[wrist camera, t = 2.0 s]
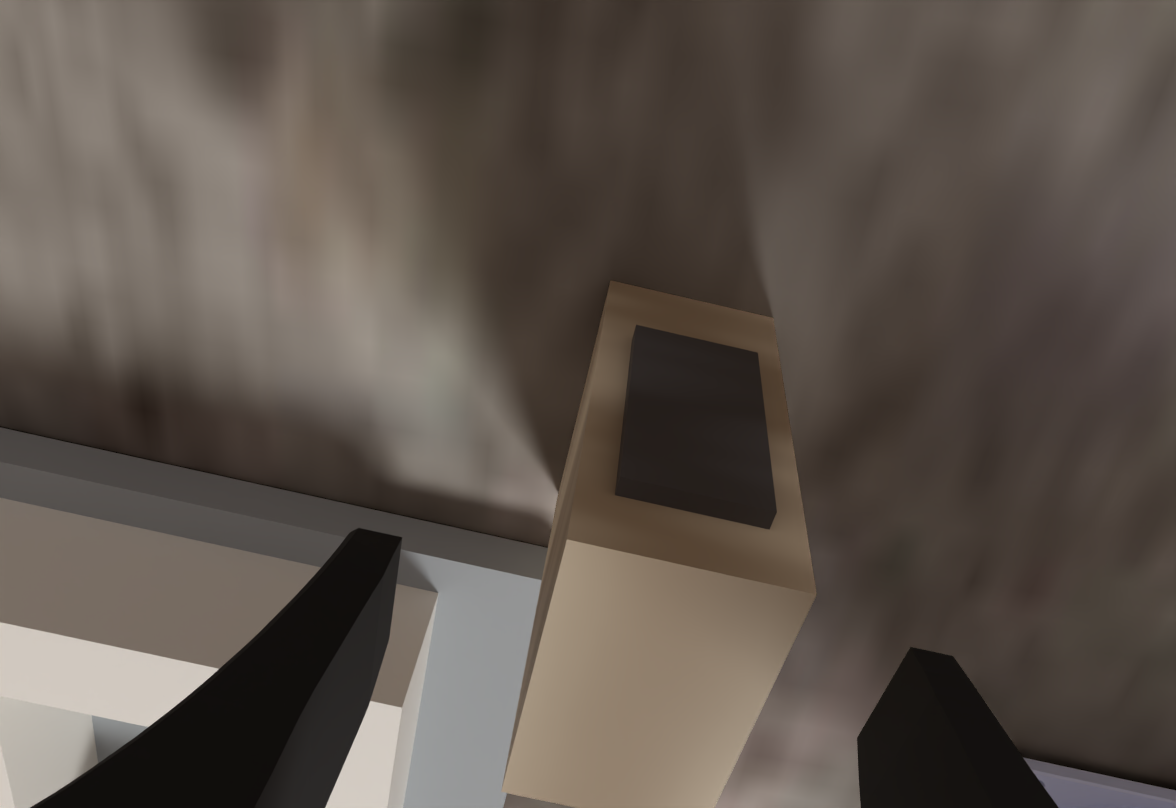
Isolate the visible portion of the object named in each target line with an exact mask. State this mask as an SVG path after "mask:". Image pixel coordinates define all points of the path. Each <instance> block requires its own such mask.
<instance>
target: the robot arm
mask: <svg viewBox="0 0 1176 808" xmlns="http://www.w3.org/2000/svg"><path fill="white" fill-rule="evenodd" d="M401 544H402V537H399V536H394V535H390V534H385V533H381V532H376V531H371V530H367V529H362V528H357V529H355V530H353V531H351V532H350V533H349V534H348V535H347V537H346V538H345V539H344V540H343V542H342V543H341V544H340V546H339V547H338V548H337V549H336V551H335V552H334V553H333V554H332V555H331V557H330V558H329V559H328V560H327V561H326V563H325V564H324V565H323V566H322V567H321V568H320V569H319V571H318V572H317V573H316V574H315V575H314V576H313V577H312V578H311V579H310V581H309V582H308V583H307V584H306V585H305V586H304V587H303V588H302V589H301V590H300V591H299V592H298V594H297V595H296V596H295V597H294V598H293V599H292V600H291V601H290V602H289V603H288V604H287V605H286V606H285V607H284V608H283V609H282V610H281V611H280V612H279V613H278V614H277V615H276V616H275V617H274V618H273V619H272V620H271V621H270V622H269V623H268V624H267V625H266V626H265V627H264V628H263V629H262V630H261V631H260V632H259V633H258V634H257V635H256V636H255V637H254V638H253V639H252V640H251V641H250V642H248V643H247V644H246V645H245V646H244V647H243V648H242V649H241V650H240V651H238V652H237V653H236V654H235V655H234V656H233V657H232V658H231V659H230V660H228V661H227V662H226V663H225V664H224V665H223V666H222V667H221V668H220V669H218V670H217V671H216V672H215V673H214V674H213V675H212V676H211V677H210V678H208V679H207V680H206V681H205V682H204V683H203V684H202V685H200V686H199V687H198V688H197V689H196V690H194V691H193V692H192V693H191V694H190V695H188V696H187V697H186V698H185V699H184V700H182V701H181V702H180V703H179V704H177V705H176V706H175V707H174V708H172V709H171V710H170V711H169V712H167V713H166V714H165V715H163V716H162V717H161V718H159V719H158V720H157V721H156V722H154V723H153V724H152V725H150V726H149V727H148V728H147V729H145V730H144V731H143V732H141V733H140V734H139V735H137V736H136V737H135V738H133V739H132V740H130V741H129V742H128V743H126V744H125V745H123V746H122V747H120V748H119V749H118V750H116V751H115V752H113V753H112V754H111V755H109V756H108V757H106V758H105V759H104V760H102V761H101V762H99V763H98V764H97V765H95V766H94V767H92V768H91V769H89V770H88V771H87V772H85V773H84V774H82V775H81V776H79V777H78V778H76V779H75V780H73V781H72V782H70V783H69V784H67V785H66V786H64V787H63V788H61V789H59V790H58V791H56V792H55V793H53V794H52V795H50V796H48V797H47V798H45V799H43V800H42V801H40V802H38V803H37V804H35V805H34V806H32V807H30V808H325V807H326V805H327V802H328V800H329V798H330V795H331V793H332V791H333V788H334V786H335V784H336V781H337V779H338V777H339V775H340V772H341V770H342V768H343V765H344V763H345V761H346V758H347V756H348V754H349V751H350V749H351V747H352V744H353V742H354V740H355V737H356V735H357V733H358V730H359V728H360V725H361V723H362V721H363V718H364V716H365V714H366V711H367V709H368V706H369V703H370V700H371V697H372V694H373V690H374V687H375V684H376V681H377V678H378V674H379V671H380V668H381V664H382V661H383V658H384V655H385V651H386V648H387V645H388V641H389V637H390V630H391V622H392V614H393V606H394V599H395V591H396V583H397V575H398V567H399V560H400V552H401ZM857 743H858V768H859V786H860V801H861V808H1176V790H1172V789H1167V788H1162V787H1158V786H1153V785H1148V784H1144V783H1139V782H1134V781H1130V780H1125V779H1121V778H1116V777H1111V776H1107V775H1102V774H1097V773H1093V772H1088V771H1084V770H1079V769H1074V768H1070V767H1065V766H1060V765H1056V764H1051V763H1047V762H1042V761H1037V760H1033V759H1028V758H1023V757H1022V755H1021V754H1020V753H1019V751H1018V750H1017V748H1016V747H1015V745H1014V744H1013V743H1012V741H1011V740H1010V738H1009V737H1008V735H1007V734H1006V732H1005V731H1004V729H1003V728H1002V726H1001V725H1000V724H999V722H998V721H997V719H996V718H995V716H994V715H993V713H992V712H991V710H990V709H989V707H988V706H987V704H986V703H985V702H984V700H983V699H982V697H981V696H980V694H979V693H978V691H977V690H976V688H975V687H974V685H973V684H972V683H971V681H970V680H969V678H968V677H967V675H966V674H965V672H964V671H963V670H962V668H961V667H960V665H959V664H958V663H957V661H956V660H955V658H954V657H953V656H950V655H945V654H940V653H936V652H931V651H926V650H922V649H917V648H913V647H910V649H909V651H908V652H907V654H906V656H905V658H904V659H903V661H902V663H901V664H900V666H899V668H898V669H897V671H896V673H895V675H894V676H893V678H892V680H891V681H890V683H889V685H888V686H887V688H886V690H885V692H884V693H883V695H882V697H881V698H880V700H879V702H878V704H877V705H876V707H875V709H874V710H873V712H872V714H871V715H870V717H869V719H868V721H867V722H866V724H865V726H864V727H863V729H862V731H861V732H860V734H859V736H858V738H857Z"/></svg>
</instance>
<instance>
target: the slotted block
mask: <svg viewBox="0 0 1176 808" xmlns="http://www.w3.org/2000/svg"><path fill="white" fill-rule="evenodd" d="M357 528H362V529H367V530H371V531H376V532H381V533H385V534H390V535H394V536H399V537H402V544H401V552H400V560H399V567H398V575H397V583H396V591H395V599H394V606H393V614H392V622H391V630H390V637H389V641H388V645H387V648H386V651H385V655H384V658H383V661H382V664H381V668H380V671H379V674H378V678H377V681H376V684H375V687H374V690H373V694H372V697H371V700H370V703H369V706H368V709H367V711H366V714H365V716H364V718H363V721H362V723H361V725H360V728H359V730H358V733H357V735H356V737H355V740H354V742H353V744H352V747H351V749H350V751H349V754H348V756H347V758H346V761H345V763H344V765H343V768H342V770H341V772H340V775H339V777H338V779H337V781H336V784H335V786H334V788H333V791H332V793H331V795H330V798H329V800H328V802H327V805H326V807H325V808H503V806H504V802H505V798H506V795H507V793H504V792H501V790H502V785H503V780H504V774H505V769H506V764H507V759H508V753H509V748H510V743H511V738H512V733H513V727H514V722H515V717H516V712H517V706H518V701H519V696H520V691H521V686H522V680H523V675H524V670H525V665H526V660H527V654H528V649H529V644H530V639H531V633H532V628H533V623H534V618H535V613H536V607H537V602H538V597H539V592H540V586H541V581H542V576H543V571H544V566H545V560H546V555H547V550H548V548H546V547H541V546H537V545H532V544H527V543H523V542H518V541H514V540H509V539H505V538H500V537H496V536H491V535H487V534H482V533H478V532H473V531H468V530H464V529H459V528H455V527H450V526H446V525H441V524H437V523H432V522H428V521H423V520H418V519H414V518H409V517H405V516H400V515H396V514H391V513H387V512H382V511H378V510H373V509H369V508H364V507H359V506H355V505H350V504H346V503H341V502H337V501H332V500H328V499H323V498H319V497H314V496H309V495H305V494H300V493H296V492H291V491H287V490H282V489H278V488H273V487H269V486H264V485H259V484H255V483H250V482H246V481H241V480H237V479H232V478H228V477H223V476H219V475H214V474H210V473H205V472H200V471H196V470H191V469H187V468H182V467H178V466H173V465H169V464H164V463H160V462H155V461H150V460H146V459H141V458H137V457H132V456H128V455H123V454H119V453H114V452H110V451H105V450H101V449H96V448H91V447H87V446H82V445H78V444H73V443H69V442H64V441H60V440H55V439H51V438H46V437H41V436H37V435H32V434H28V433H23V432H19V431H14V430H10V429H5V428H1V427H0V808H30V807H32V806H34V805H35V804H37V803H38V802H40V801H42V800H43V799H45V798H47V797H48V796H50V795H52V794H53V793H55V792H56V791H58V790H59V789H61V788H63V787H64V786H66V785H67V784H69V783H70V782H72V781H73V780H75V779H76V778H78V777H79V776H81V775H82V774H84V773H85V772H87V771H88V770H89V769H91V768H92V767H94V766H95V765H97V764H98V763H99V762H101V761H102V760H104V759H105V758H106V757H108V756H109V755H111V754H112V753H113V752H115V751H116V750H118V749H119V748H120V747H122V746H123V745H125V744H126V743H128V742H129V741H130V740H132V739H133V738H135V737H136V736H137V735H139V734H140V733H141V732H143V731H144V730H145V729H147V728H148V727H149V726H150V725H152V724H153V723H154V722H156V721H157V720H158V719H159V718H161V717H162V716H163V715H165V714H166V713H167V712H169V711H170V710H171V709H172V708H174V707H175V706H176V705H177V704H179V703H180V702H181V701H182V700H184V699H185V698H186V697H187V696H188V695H190V694H191V693H192V692H193V691H194V690H196V689H197V688H198V687H199V686H200V685H202V684H203V683H204V682H205V681H206V680H207V679H208V678H210V677H211V676H212V675H213V674H214V673H215V672H216V671H217V670H218V669H220V668H221V667H222V666H223V665H224V664H225V663H226V662H227V661H228V660H230V659H231V658H232V657H233V656H234V655H235V654H236V653H237V652H238V651H240V650H241V649H242V648H243V647H244V646H245V645H246V644H247V643H248V642H250V641H251V640H252V639H253V638H254V637H255V636H256V635H257V634H258V633H259V632H260V631H261V630H262V629H263V628H264V627H265V626H266V625H267V624H268V623H269V622H270V621H271V620H272V619H273V618H274V617H275V616H276V615H277V614H278V613H279V612H280V611H281V610H282V609H283V608H284V607H285V606H286V605H287V604H288V603H289V602H290V601H291V600H292V599H293V598H294V597H295V596H296V595H297V594H298V592H299V591H300V590H301V589H302V588H303V587H304V586H305V585H306V584H307V583H308V582H309V581H310V579H311V578H312V577H313V576H314V575H315V574H316V573H317V572H318V571H319V569H320V568H321V567H322V566H323V565H324V564H325V563H326V561H327V560H328V559H329V558H330V557H331V555H332V554H333V553H334V552H335V551H336V549H337V548H338V547H339V546H340V544H341V543H342V542H343V540H344V539H345V538H346V537H347V535H348V534H349V533H350V532H351V531H353V530H355V529H357Z"/></svg>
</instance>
